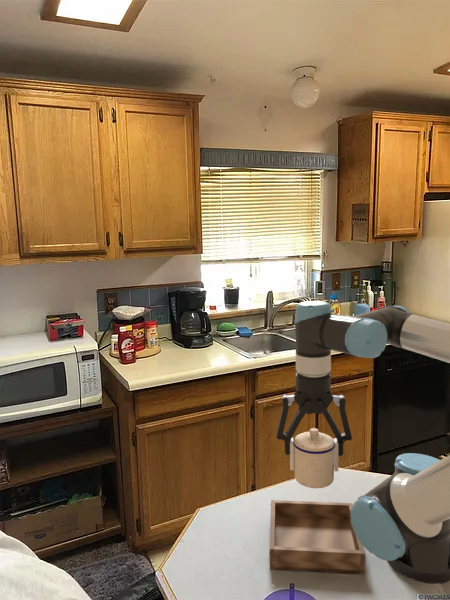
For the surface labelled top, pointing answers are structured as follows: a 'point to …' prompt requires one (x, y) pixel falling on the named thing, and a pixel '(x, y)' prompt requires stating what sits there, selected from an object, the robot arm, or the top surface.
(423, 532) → the robot arm
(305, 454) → the teacup with lid
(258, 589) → the top surface
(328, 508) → the walnut box
